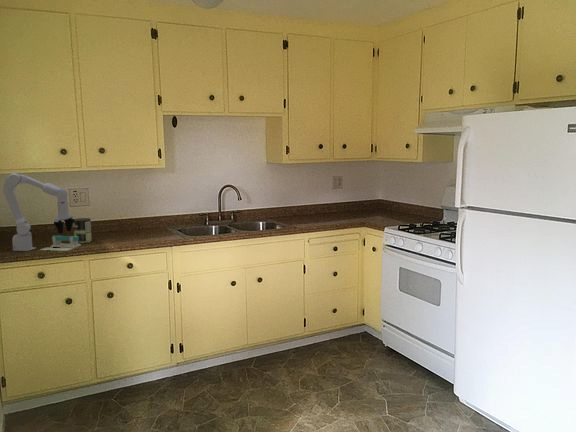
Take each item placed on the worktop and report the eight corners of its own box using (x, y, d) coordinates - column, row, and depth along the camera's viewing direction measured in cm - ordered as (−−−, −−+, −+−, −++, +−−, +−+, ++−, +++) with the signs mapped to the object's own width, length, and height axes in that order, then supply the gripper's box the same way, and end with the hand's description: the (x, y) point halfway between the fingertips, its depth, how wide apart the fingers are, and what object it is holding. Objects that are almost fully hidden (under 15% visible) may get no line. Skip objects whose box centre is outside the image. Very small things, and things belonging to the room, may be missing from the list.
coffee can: (77, 243, 279) (76, 221, 277) (71, 241, 286) (70, 219, 284) (94, 241, 286) (93, 219, 284) (88, 239, 294) (86, 217, 292)
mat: (39, 250, 260) (39, 249, 260) (46, 248, 266) (46, 247, 266) (66, 251, 258) (66, 250, 258) (73, 248, 264) (73, 248, 264)
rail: (51, 240, 270) (51, 236, 270) (54, 239, 272) (54, 235, 272) (76, 241, 267) (76, 237, 267) (78, 240, 270) (78, 236, 269)
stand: (50, 247, 268) (49, 237, 267) (58, 245, 275) (57, 235, 274) (73, 248, 266) (73, 238, 265) (80, 245, 273) (80, 235, 272)
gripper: (61, 211, 260) (63, 234, 261) (76, 208, 274) (78, 230, 276) (50, 211, 261) (52, 234, 263) (66, 207, 275) (67, 230, 277)
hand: (64, 232), depth 269 cm, fingers open, 7 cm apart
